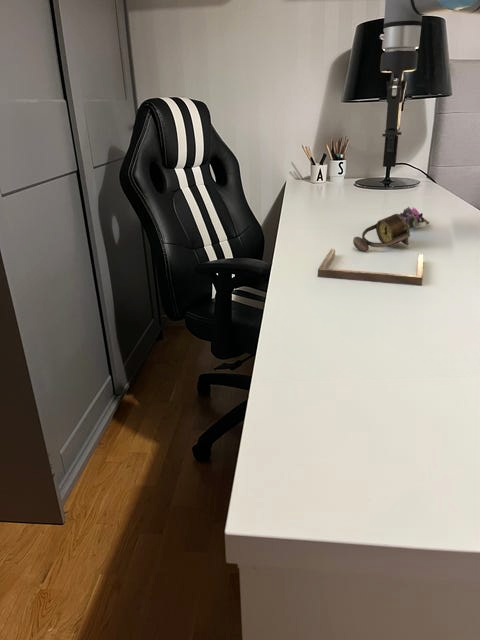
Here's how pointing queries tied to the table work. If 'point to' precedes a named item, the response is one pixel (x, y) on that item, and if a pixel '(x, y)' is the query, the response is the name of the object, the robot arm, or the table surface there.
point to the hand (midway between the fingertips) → (389, 165)
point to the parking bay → (370, 273)
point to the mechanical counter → (385, 233)
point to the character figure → (413, 217)
